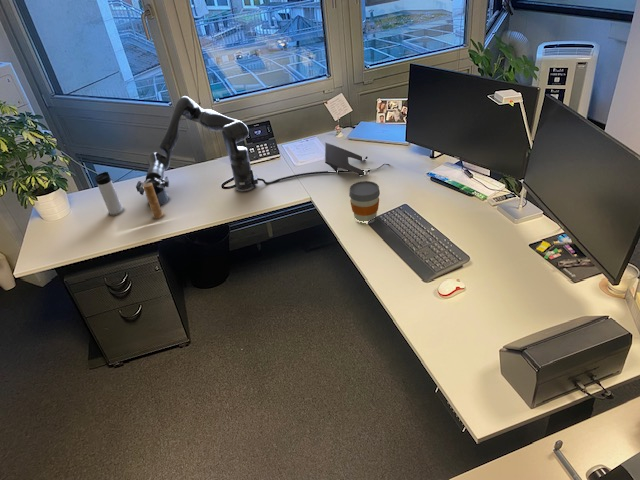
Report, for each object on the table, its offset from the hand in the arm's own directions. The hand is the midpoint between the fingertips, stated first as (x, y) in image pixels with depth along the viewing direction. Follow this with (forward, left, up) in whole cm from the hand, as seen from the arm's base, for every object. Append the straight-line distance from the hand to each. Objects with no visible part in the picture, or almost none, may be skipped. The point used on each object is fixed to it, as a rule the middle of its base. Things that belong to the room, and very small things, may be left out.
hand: (151, 191), depth 208 cm
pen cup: (-1, -14, -13) cm, 19 cm away
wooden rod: (0, +1, -13) cm, 13 cm away
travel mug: (+19, -14, -13) cm, 27 cm away
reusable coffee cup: (-84, +47, -13) cm, 97 cm away
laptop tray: (-95, +1, -13) cm, 96 cm away
